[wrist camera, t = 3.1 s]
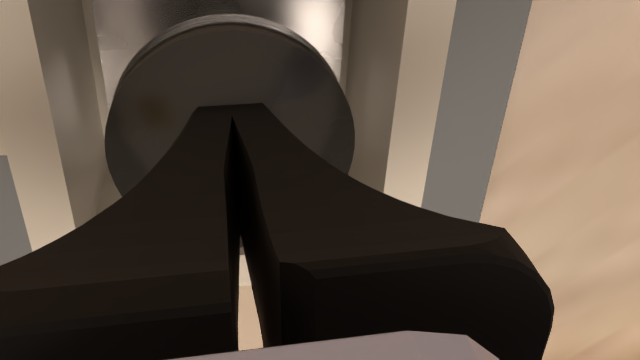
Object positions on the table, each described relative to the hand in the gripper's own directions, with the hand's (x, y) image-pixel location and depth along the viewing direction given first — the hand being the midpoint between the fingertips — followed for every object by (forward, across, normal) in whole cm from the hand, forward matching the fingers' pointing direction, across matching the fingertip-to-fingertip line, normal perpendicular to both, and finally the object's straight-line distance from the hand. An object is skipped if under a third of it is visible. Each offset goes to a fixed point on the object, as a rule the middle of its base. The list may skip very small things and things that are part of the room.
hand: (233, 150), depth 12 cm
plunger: (+6, 0, 0) cm, 6 cm away
